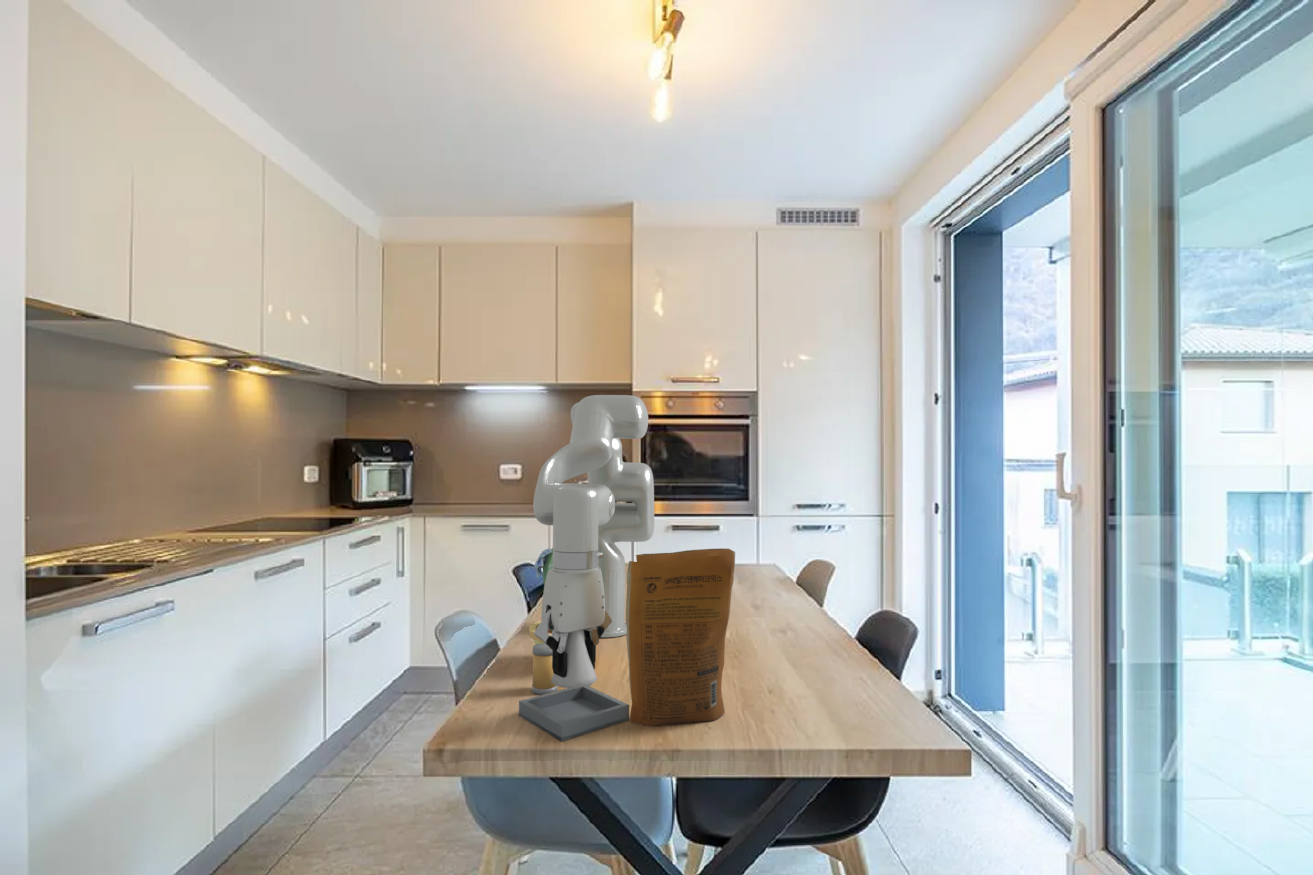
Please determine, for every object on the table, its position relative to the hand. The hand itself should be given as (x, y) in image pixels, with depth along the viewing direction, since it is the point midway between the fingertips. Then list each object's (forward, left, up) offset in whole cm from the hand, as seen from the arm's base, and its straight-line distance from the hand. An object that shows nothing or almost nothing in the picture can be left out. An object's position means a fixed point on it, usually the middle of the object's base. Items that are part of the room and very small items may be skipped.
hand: (574, 670), depth 108 cm
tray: (0, 0, -8) cm, 8 cm away
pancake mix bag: (+12, +13, -8) cm, 19 cm away
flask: (0, 0, -2) cm, 2 cm away
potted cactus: (-24, +14, -8) cm, 29 cm away
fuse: (-14, +3, -8) cm, 16 cm away
